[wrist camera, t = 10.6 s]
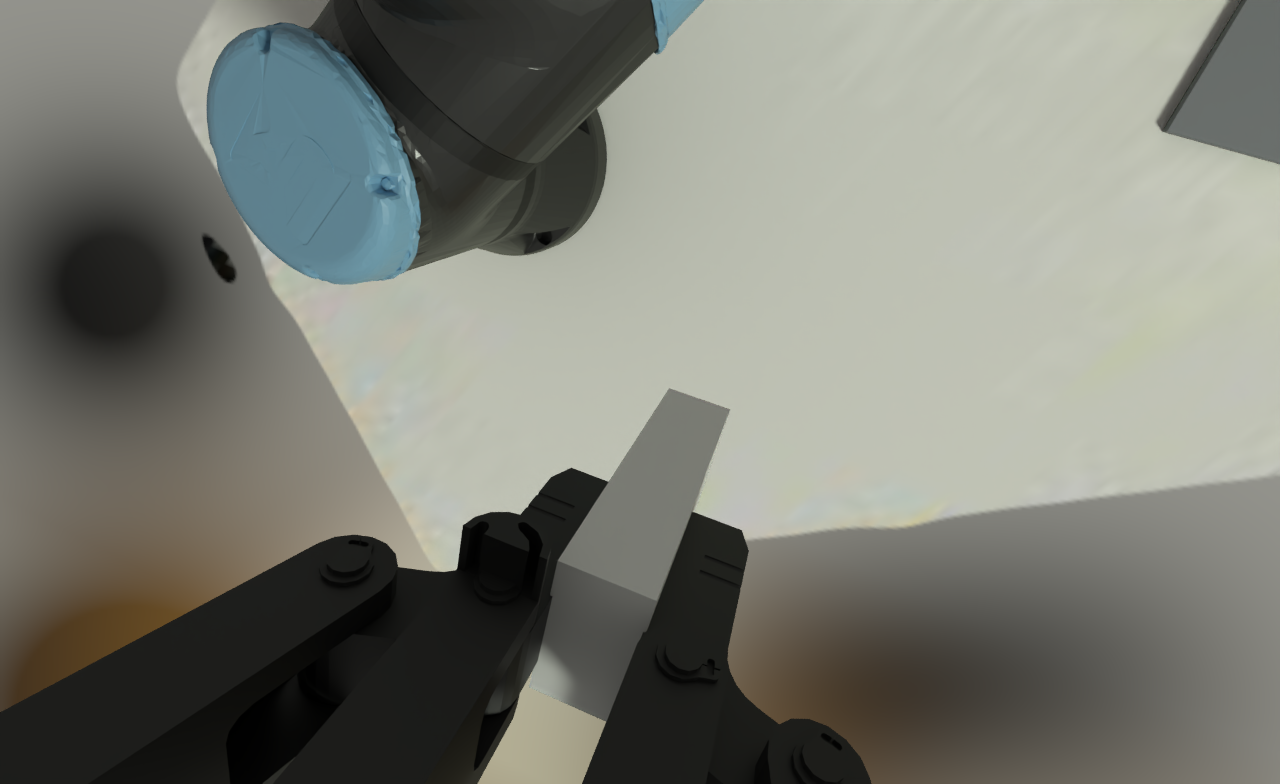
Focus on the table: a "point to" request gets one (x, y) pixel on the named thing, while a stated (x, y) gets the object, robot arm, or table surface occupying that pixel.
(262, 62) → the robot arm
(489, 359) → the table surface
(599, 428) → the table surface
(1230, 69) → the mat
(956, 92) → the table surface
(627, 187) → the table surface
